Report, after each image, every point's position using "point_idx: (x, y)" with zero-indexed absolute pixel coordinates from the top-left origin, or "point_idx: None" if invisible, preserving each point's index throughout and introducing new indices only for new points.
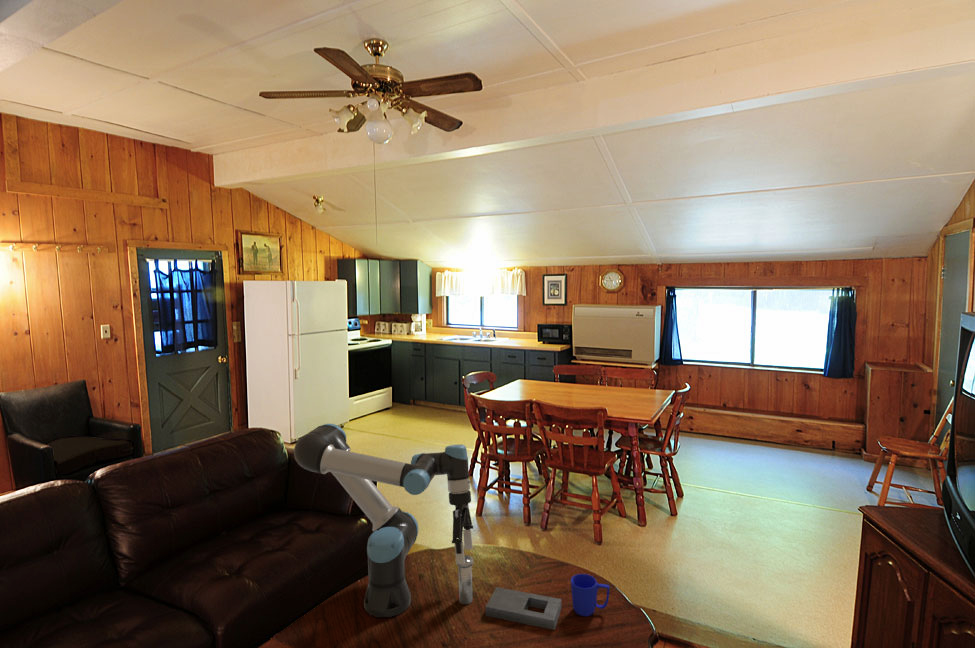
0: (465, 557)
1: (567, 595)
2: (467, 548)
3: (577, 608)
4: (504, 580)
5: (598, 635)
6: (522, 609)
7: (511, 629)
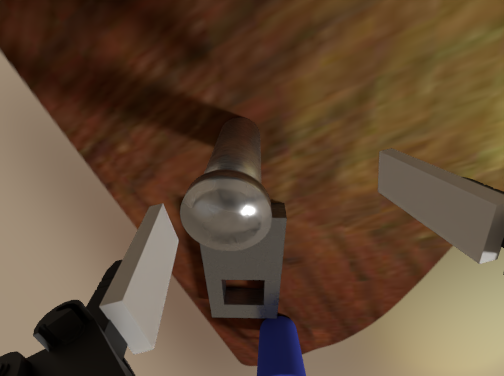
0: (247, 215)
1: (315, 304)
2: (382, 169)
3: (261, 332)
4: (355, 202)
5: (228, 336)
6: (220, 277)
7: (184, 252)
